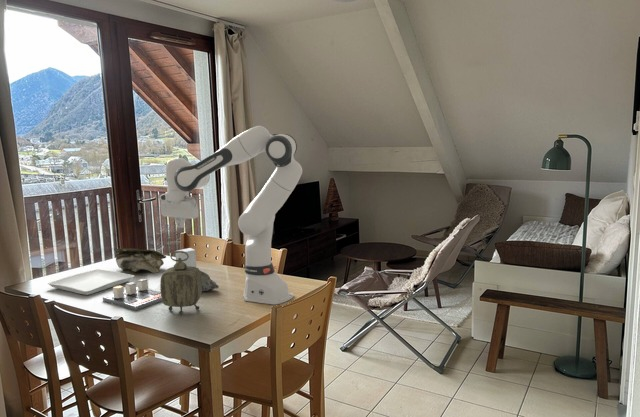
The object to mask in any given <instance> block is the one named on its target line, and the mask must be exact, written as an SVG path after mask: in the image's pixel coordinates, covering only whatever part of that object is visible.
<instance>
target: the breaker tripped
mask: <svg viewBox="0 0 640 417" xmlns="http://www.w3.org/2000/svg"><path fill="white" fill-rule="evenodd" d="M124 291H125V287H124V286H122V285H117V286H114V287H112V294H113V296H114V298H121V297H124Z"/></svg>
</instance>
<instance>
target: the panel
mask: <svg viewBox="0 0 640 417" xmlns="http://www.w3.org/2000/svg"><path fill="white" fill-rule="evenodd" d="M102 302H104V303H108V304H110V305H114V306H117V307H121V308H125V309H128V310H132V311H134V312H136V311H138V310H142V309H144V308H147V307H151V306H153V305H156V304H159V303H163V301H162V297H161V291H159V290H156V289H152V288H148V289H146V290H143V291H141V290H138V286H136V293H134V294H131V295H130V294H127V293H126V289H124V297H121V298H114V296H113V293H112V294H109V295H106V296H105V295H104V296H103V297H102Z"/></svg>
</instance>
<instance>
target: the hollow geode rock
mask: <svg viewBox="0 0 640 417" xmlns="http://www.w3.org/2000/svg"><path fill="white" fill-rule="evenodd" d="M114 251H115V252H116V255H115V262H116V264H117V266H118V268H119V269H121V270H123V271H125V270H131V271H132V272H139V271H140V270H146V271H148V272H151V273H152V274H157V273H158V272H160V270H161V267H162V266H163V265H164V260H165V259H166V258H167V256H166V255H165V254H162V253H161V252H159V251H158V250H155V249H143V248H131V247H121V248H114ZM163 259H164V260H163Z"/></svg>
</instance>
